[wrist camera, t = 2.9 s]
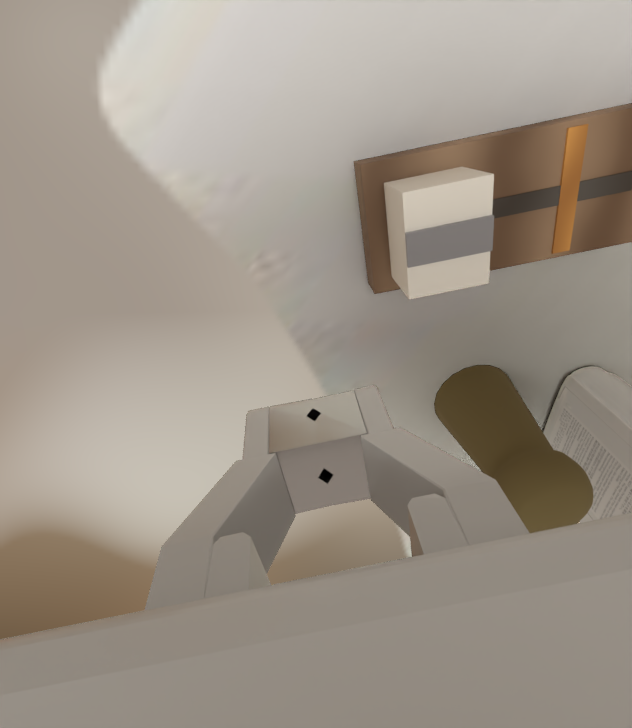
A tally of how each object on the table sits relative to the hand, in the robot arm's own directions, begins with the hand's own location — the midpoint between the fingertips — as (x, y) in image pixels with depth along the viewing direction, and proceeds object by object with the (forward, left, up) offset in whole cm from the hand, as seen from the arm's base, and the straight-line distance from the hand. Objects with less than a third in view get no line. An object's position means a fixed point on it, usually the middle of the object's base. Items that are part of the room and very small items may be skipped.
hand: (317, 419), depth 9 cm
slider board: (-12, 0, -17) cm, 21 cm away
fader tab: (-7, 0, -14) cm, 16 cm away
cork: (-11, +14, -17) cm, 25 cm away
